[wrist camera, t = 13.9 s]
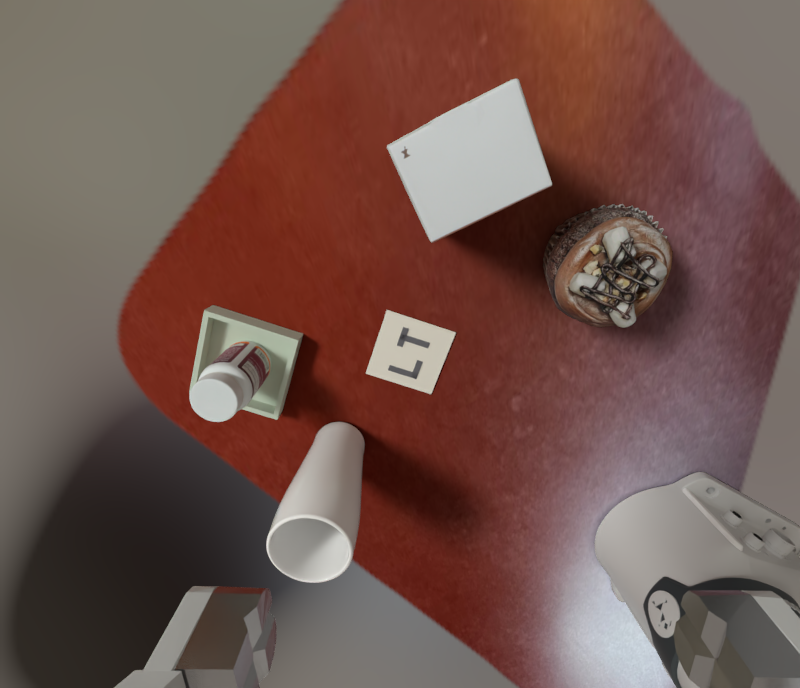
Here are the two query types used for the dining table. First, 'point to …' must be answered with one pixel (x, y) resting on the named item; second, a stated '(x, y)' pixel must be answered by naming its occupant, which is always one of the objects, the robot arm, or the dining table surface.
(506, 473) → the dining table surface
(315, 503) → the drinking glass
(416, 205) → the small box
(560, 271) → the cupcake
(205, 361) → the sage tray
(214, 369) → the pill bottle
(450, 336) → the coaster
